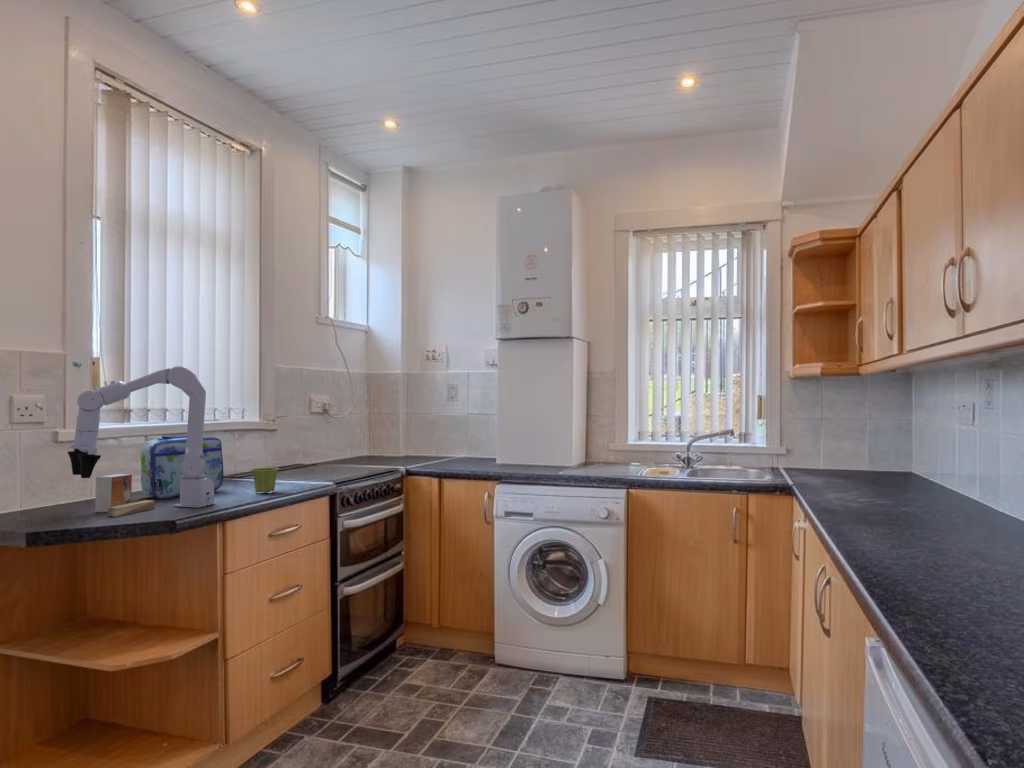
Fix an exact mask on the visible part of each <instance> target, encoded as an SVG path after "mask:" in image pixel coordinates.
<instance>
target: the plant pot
mask: <svg viewBox="0 0 1024 768" xmlns="http://www.w3.org/2000/svg"><path fill="white" fill-rule="evenodd" d="M279 470H280V468H278V467H257V468H251V470H250V471H251V472H252V476H253V484H254V490H255V491H254V492H255V493H256V492H270V491H274V492H275V488H276V487H275V486H276V480H277V475H278V471H279Z"/></svg>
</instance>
